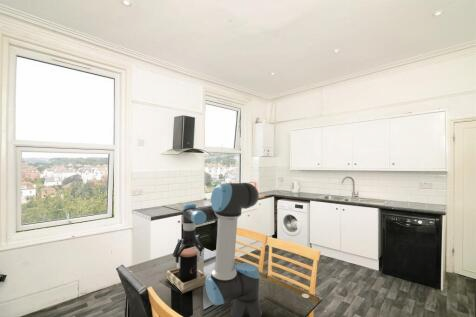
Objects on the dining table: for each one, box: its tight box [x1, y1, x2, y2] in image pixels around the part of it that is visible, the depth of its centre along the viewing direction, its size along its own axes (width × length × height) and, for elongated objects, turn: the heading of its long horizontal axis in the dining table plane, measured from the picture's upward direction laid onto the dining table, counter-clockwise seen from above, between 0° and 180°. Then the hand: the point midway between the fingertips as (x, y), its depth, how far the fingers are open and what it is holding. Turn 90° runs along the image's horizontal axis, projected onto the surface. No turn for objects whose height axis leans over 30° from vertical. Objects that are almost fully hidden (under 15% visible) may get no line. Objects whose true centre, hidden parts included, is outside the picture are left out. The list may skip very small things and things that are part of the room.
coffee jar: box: [179, 248, 198, 283], centre depth 142 cm, size 11×11×18 cm
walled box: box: [166, 267, 208, 294], centre depth 144 cm, size 20×16×5 cm
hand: (188, 264), depth 142 cm, fingers open, 13 cm apart
